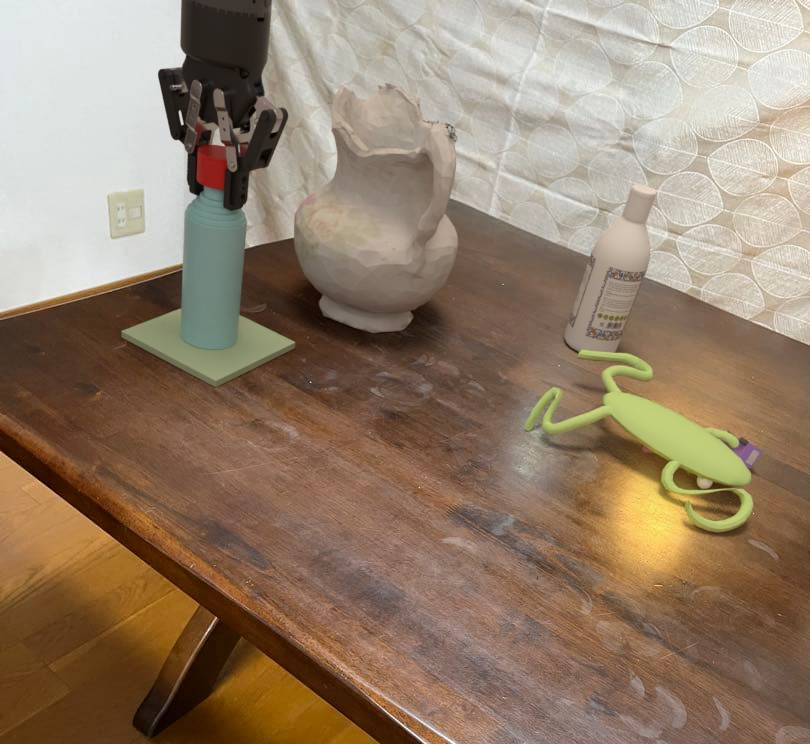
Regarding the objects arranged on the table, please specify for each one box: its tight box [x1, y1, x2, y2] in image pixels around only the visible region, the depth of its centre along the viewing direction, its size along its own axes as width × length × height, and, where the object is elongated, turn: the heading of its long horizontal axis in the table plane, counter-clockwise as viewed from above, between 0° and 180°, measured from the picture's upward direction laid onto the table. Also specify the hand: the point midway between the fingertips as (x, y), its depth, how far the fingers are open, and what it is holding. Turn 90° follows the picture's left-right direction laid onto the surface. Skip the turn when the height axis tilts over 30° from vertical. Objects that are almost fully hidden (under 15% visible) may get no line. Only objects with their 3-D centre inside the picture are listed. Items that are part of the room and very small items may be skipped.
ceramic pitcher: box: [293, 82, 459, 334], centre depth 99 cm, size 22×20×25 cm
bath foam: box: [563, 184, 657, 353], centre depth 105 cm, size 7×7×20 cm
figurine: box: [524, 350, 764, 534], centre depth 92 cm, size 18×27×6 cm
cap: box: [196, 144, 240, 190], centre depth 82 cm, size 4×4×3 cm
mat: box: [121, 307, 296, 388], centre depth 93 cm, size 13×13×1 cm
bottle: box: [180, 186, 248, 350], centre depth 87 cm, size 6×6×18 cm
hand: (216, 200), depth 84 cm, fingers closed on cap, 3 cm apart
